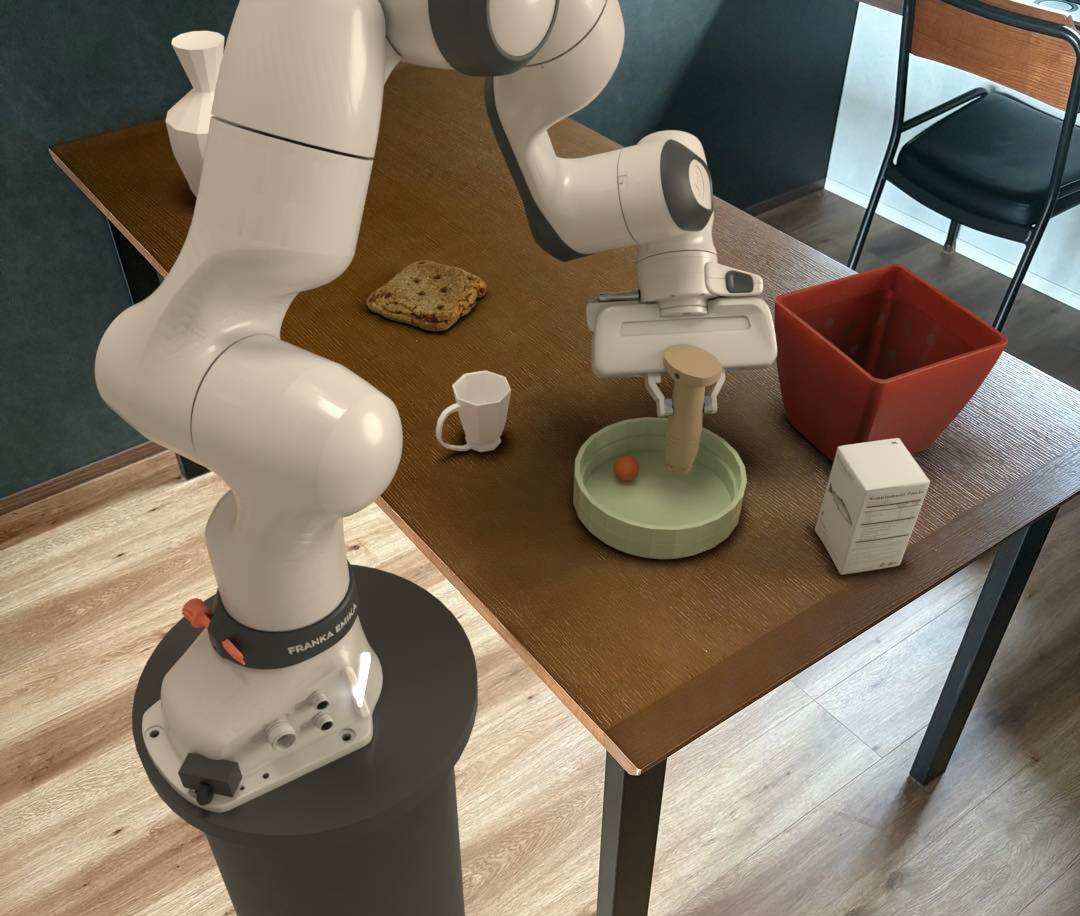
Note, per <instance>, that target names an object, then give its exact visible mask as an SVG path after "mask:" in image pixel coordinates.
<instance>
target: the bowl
mask: <svg viewBox="0 0 1080 916" xmlns="http://www.w3.org/2000/svg"><path fill="white" fill-rule="evenodd" d="M667 419H668V417H655V416H654V417H652V416H645V417H638V418H629V419H628V418H627V419H625V420H621V421H618V422H615V423H611V424H609V425H608V424H607V425H606V426H604V427H603V428H601V429H599V430H598V431H596V432H594V433H593V434H591V435H590V436H589V437H588V438H587V439H586V440H585V442H584V443H582V444H581V446H580V448H579V450H578V452H577V455H576V457H575V459H574V470H573V471H574V472H573V473H574V474H573V489H572V490H573V493H572V494H573V495H572V504H573V506H574V507H573V508H574V509H575V512H576V515H577V518H578V519H579V521H580V522H581V523H582V524H583V525H584V527H585V528H586V529H587V531H589V533H590V534H592V535H593V536H595V537H596V538H597V539H598V540H599V541H601V542H603V543H604V544H605V545H608V546H609V547H611V548H613V549H614V550H617V551H619V552H622V553H625V554H628V555H632V556H634V557H640V558H645V559H650V560H651V559H652V560H654V559H655V560H675V559H683V558H687V557H692V556H697V555H698V554H701V553H704V552H706V551H708V550H711V549H713V548H715V547H717V546H718V545H719V544H721V543H722V542H724V541H725V540H726V539H727V538H729V536H730V535H731V534H732V532H733V531H734V530H735V529H736V527H737V526H738V524H739V521H740V517H741V513H742V508H743V503H744V499H745V494H746V489H747V484H748V479H747V478H748V477H747V472H746V471H747V470H746V466H745V464H744V462H743V460H742V458H741V456H740V455H739V453H738V452H737V450H735V448H734V447H733V446H731V444H729V442H728V441H727V440H726V439H724V438H722V437H721V436H719V435H718V434H716V433H714V432H713V431H711V430H710V429H708V428H705V427H703V426H702V431H701V438H700V443H699V447H698V451H697V455H696V458H695V460H694V466H693V469H692V471H691V472H690V473H687V474H686V475H685V476H683V477H681V476H679V475H671V474H669V473H668V472H667V467H666V466H665V463H664V458H665V432H666V424H667ZM624 455H629V456H632V457H634V458H635V459H636V460H637V462H638V464H639V472H638V475H637V476H636V477H635V478H634V479H632V480H630V481H623V480H620V479H619V478H617V477H616V475H615V473H614V469H613V467H614V463H615V461H616V460H617V459H618V458H619V457H621V456H624Z"/></svg>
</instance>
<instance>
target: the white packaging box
mask: <svg viewBox="0 0 1080 916" xmlns="http://www.w3.org/2000/svg"><path fill="white" fill-rule="evenodd" d="M930 485H931V480H930V479H929V477H928V476H927V475H926V474H925V472H924V471H923V469H922V468H921V466H920V465H919V463H918V462H917V461H916V459H915V458H914V457H913V454H912V455H911V454H910V453H909V451H908V450H907V448H906V447H905V446H904V444H903V443H902V441H901V440H900V439H899V438H894V439H885V440H878V441H871V442H864V443H857V444H850V445H843V446H839V447H838V448H837V452H836V456H835V459H834V463H833V462H832V467H831V470H830V474H829V477H828V481H827V485H826V489H825V492H824V495H823V499H822V503H821V506H820V510H819V513H818V517H817V520H816V524H815V527H814V531H815V533H816V535H817V537H818V538H819V539H820V541H821V542H822V544H823V546H824V548H825V550H826V551H827V553H828V555H829V556H830V558H831V560H832V562H833V564H834V566H835V567H836V570H837V571H838V574H839V575H850V574H856V573H862V572H869V571H870V572H871V571H875V570H882V569H887V568H895V567H899V566H900V565H901V563H902V561H903V558H904V554H905V552H906V550H907V547H908V544H909V541H910V539H911V536H912V533H913V530H914V528H915V525H916V523H917V520H918V517H919V514H920V511H921V508H922V506H923V503H924V500H925V498H926V495H927V492H928V490H929V487H930Z"/></svg>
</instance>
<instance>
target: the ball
mask: <svg viewBox="0 0 1080 916" xmlns="http://www.w3.org/2000/svg"><path fill="white" fill-rule="evenodd" d="M613 469H614V473H615V475H616V477H617V478H619V479H620V480H623V481H630V480H632V479H634V478H635V477H636V476H637V475H638V472H639V464H638V462H637V460H636V459H635V458H634V457H632V456H629V455H624V456H621V457H619V458H618V459H617V460H616V461H615V463H614V467H613Z"/></svg>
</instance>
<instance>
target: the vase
mask: <svg viewBox="0 0 1080 916" xmlns="http://www.w3.org/2000/svg"><path fill="white" fill-rule="evenodd" d="M171 47H172V48H173V50H174V53H175V55H176V56H177V59H178V60H179V62H180V64H181V66H182V68H183V70H184V72H185V74H186V77H187V78H188V80H189V82H190V84H191V86H192V88H191V89H190V90H189V91H188V92H187V93H186V94H185V95H184V96H183V97H182V98H181V99H179V100H178V101H177V102H176V103H175V104H174V105H173V106H172V107H170V108H169V110H167V113H166V117H165V125H166V130H167V133H168V138H169V142H170V143H169V144H170V146H171V151H172V153H173V156H174V158H175V160H176V162H177V164H178V166H179V168H180V170H181V172H182V174H183V175H184V177H185V179H186V182H187V184H188V186H189V189H190V191H191V192H192V194H193V195H194V197H195V198H197V195H198V189H199V184H200V179H201V173H202V168H203V162H204V156H205V150H206V144H207V138H208V132H209V125H210V118H211V116H214V115H212V114H211V111H212V105H213V99H214V94H215V88H216V83H217V79H218V74H219V70H220V65H221V61H222V57H223V53H224V50H225V36H224V35H223V34H222V33H220V32H216V31H211V30H193V31H192V30H191V31H187V32H184V33H180V34H178V35H176V36H174V37H173V38H172V39H171Z"/></svg>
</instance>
